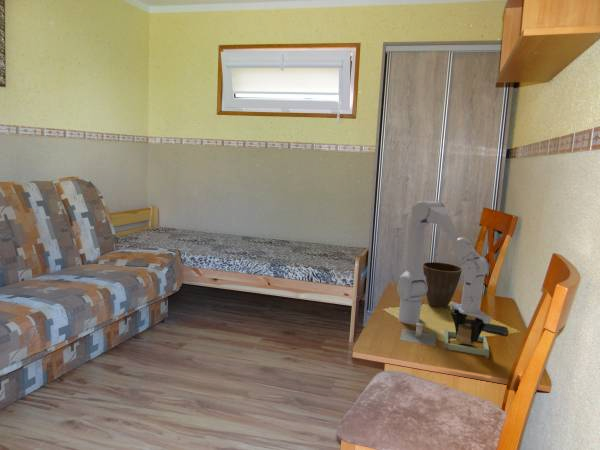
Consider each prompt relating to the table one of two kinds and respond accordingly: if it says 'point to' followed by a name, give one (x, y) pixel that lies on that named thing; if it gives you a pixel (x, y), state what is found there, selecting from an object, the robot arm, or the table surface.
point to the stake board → (416, 340)
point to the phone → (492, 328)
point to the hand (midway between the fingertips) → (466, 337)
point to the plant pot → (441, 282)
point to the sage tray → (466, 348)
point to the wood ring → (464, 334)
